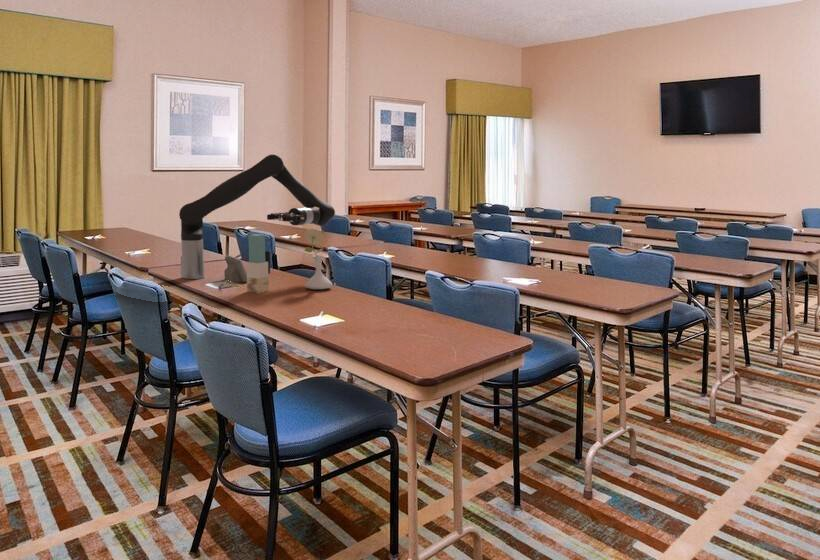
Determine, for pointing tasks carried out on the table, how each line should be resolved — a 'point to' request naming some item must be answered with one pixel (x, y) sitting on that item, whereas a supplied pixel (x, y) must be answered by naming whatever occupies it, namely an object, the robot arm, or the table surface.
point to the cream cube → (257, 270)
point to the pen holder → (267, 260)
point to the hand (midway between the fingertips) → (275, 217)
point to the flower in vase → (316, 262)
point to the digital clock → (235, 270)
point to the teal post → (256, 248)
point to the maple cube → (258, 284)
